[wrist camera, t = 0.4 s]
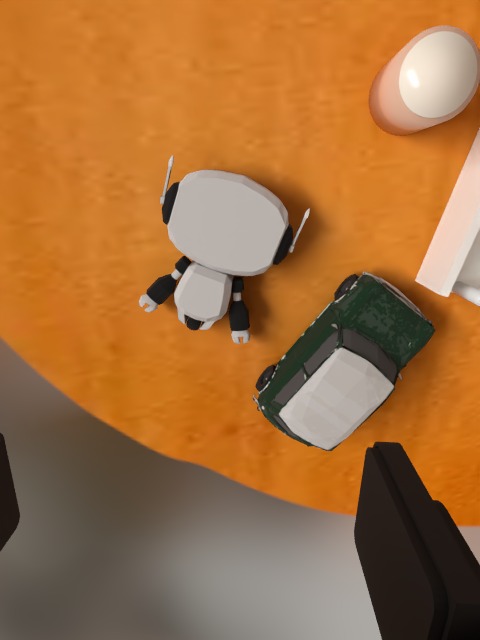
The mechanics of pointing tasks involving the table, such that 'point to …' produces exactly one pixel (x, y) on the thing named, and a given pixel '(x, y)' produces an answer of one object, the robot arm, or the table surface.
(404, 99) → the tumbler
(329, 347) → the miniature car
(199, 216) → the robot toy
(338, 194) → the table surface
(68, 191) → the table surface
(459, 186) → the rack
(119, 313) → the table surface
